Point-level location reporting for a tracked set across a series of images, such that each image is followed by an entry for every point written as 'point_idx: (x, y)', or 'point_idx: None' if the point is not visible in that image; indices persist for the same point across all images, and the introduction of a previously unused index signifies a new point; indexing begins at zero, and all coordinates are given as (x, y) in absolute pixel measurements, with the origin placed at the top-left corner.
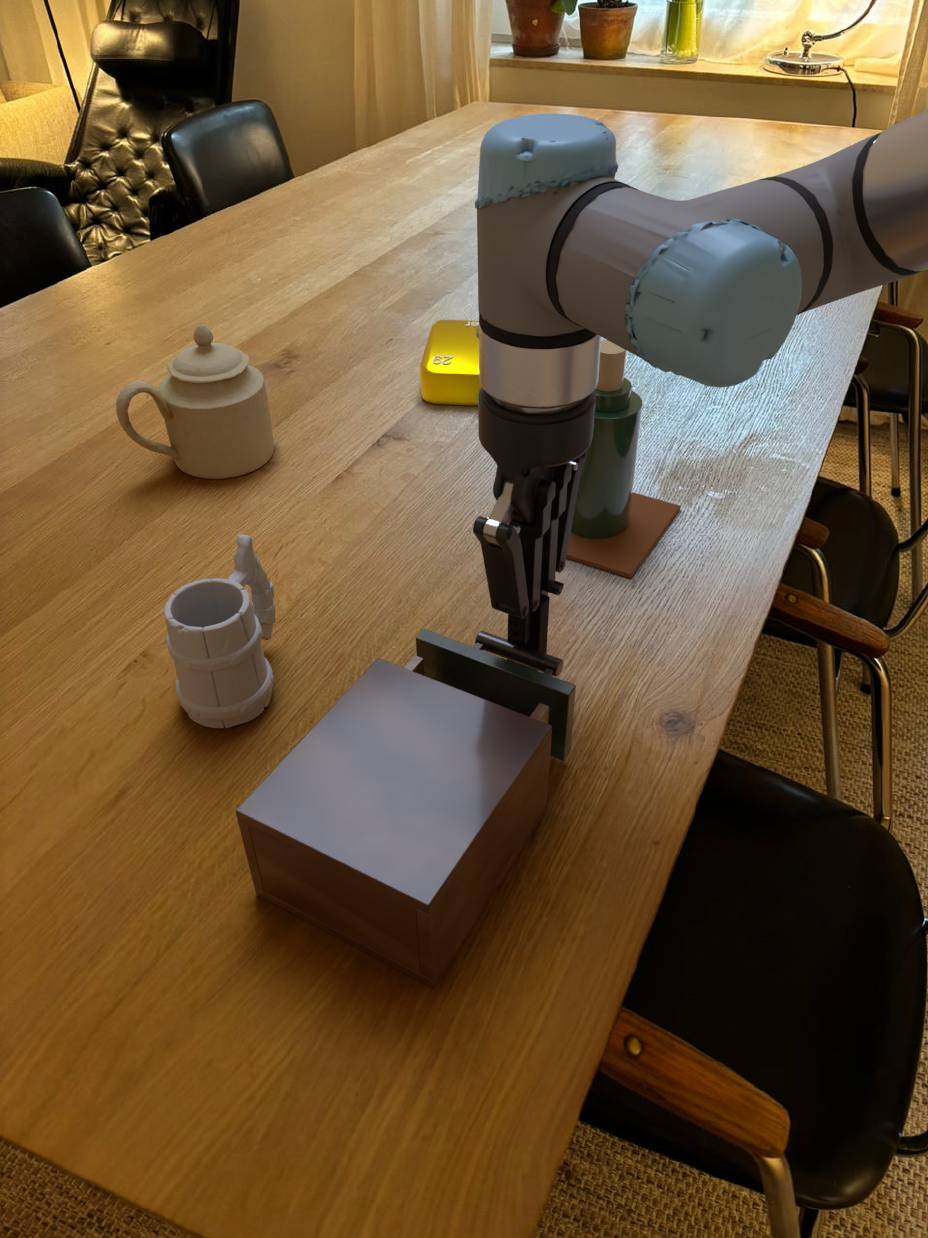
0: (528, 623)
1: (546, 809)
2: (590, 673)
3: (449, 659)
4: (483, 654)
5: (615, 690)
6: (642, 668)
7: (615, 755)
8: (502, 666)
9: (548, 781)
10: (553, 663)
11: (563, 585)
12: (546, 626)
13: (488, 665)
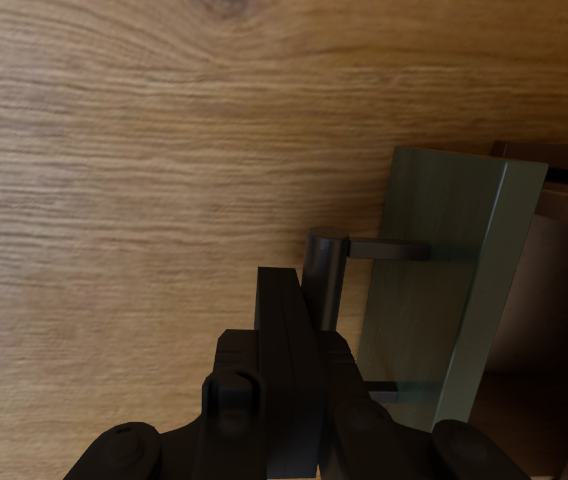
0: (340, 370)
1: (498, 140)
2: (176, 185)
3: None
4: (452, 400)
5: (195, 127)
6: (109, 96)
7: (349, 73)
8: (481, 350)
9: (551, 143)
10: (340, 250)
11: (208, 381)
12: (268, 317)
13: (481, 376)
